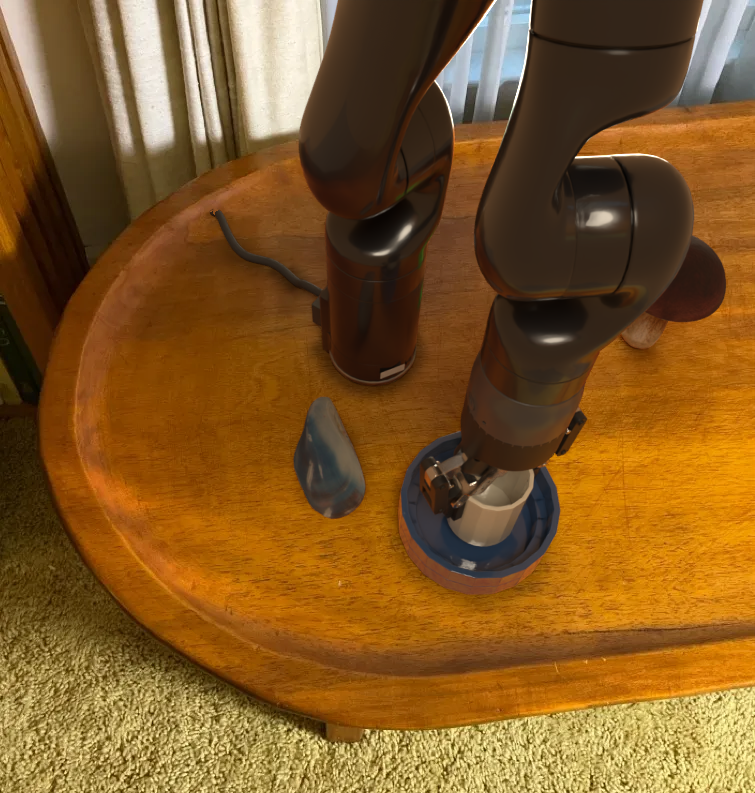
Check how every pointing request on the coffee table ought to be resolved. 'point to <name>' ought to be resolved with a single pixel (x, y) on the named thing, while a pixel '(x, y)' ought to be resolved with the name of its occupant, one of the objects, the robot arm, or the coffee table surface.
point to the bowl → (465, 562)
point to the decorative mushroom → (683, 296)
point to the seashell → (328, 463)
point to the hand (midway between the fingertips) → (487, 493)
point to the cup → (494, 509)
